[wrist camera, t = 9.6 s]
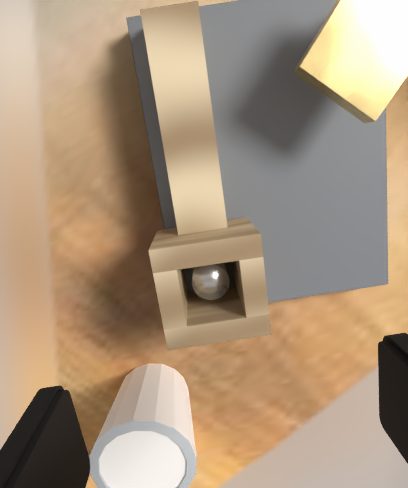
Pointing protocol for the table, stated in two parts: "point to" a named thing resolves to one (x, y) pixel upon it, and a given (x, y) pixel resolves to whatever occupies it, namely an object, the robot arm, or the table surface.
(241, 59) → the board
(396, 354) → the robot arm
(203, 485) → the table surface
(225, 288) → the pintle
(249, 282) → the link
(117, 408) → the white cylinder
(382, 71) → the block
